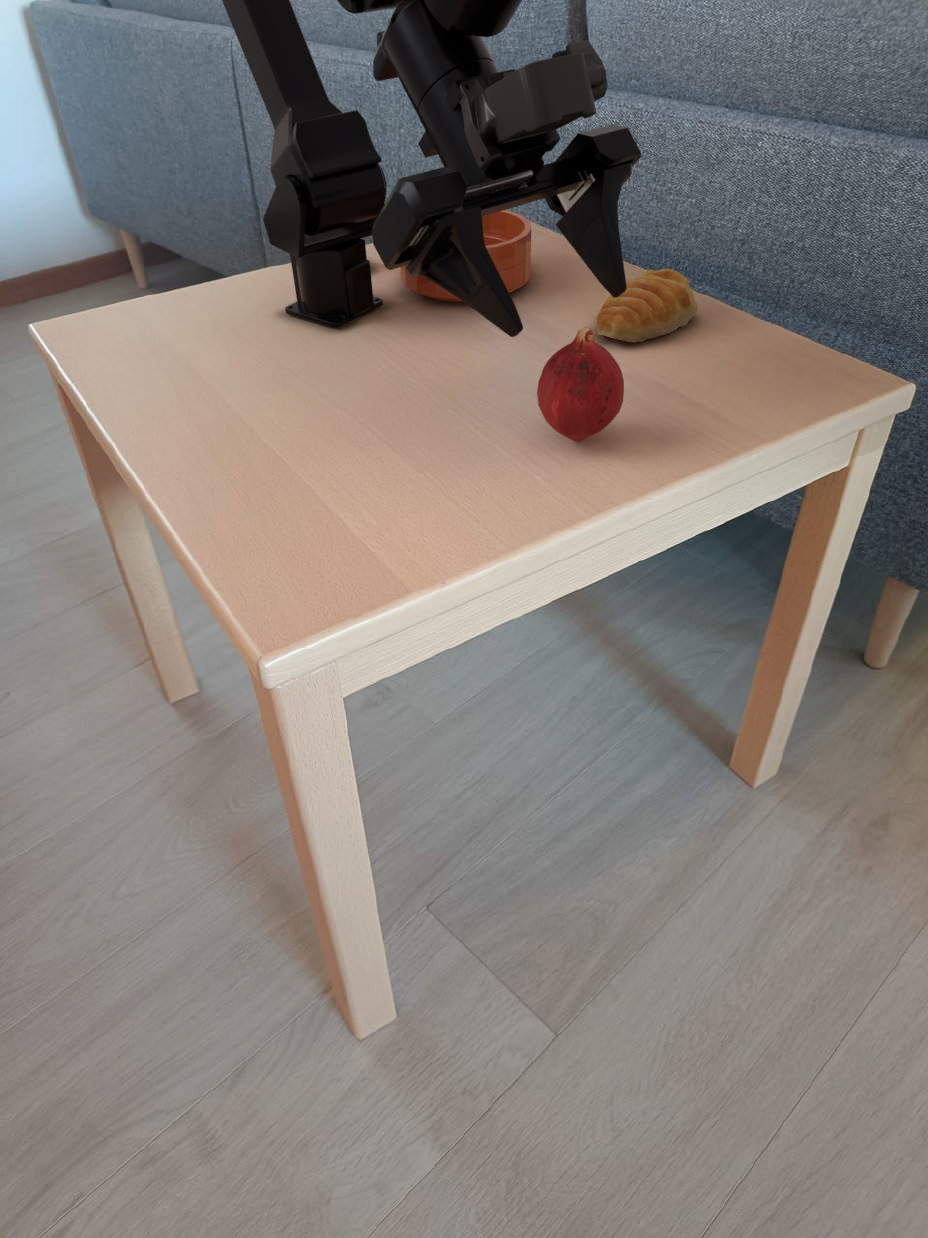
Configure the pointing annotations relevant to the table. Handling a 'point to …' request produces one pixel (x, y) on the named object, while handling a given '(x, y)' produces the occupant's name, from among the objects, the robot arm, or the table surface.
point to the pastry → (648, 307)
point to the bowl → (506, 247)
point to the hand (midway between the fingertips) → (571, 313)
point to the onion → (580, 388)
